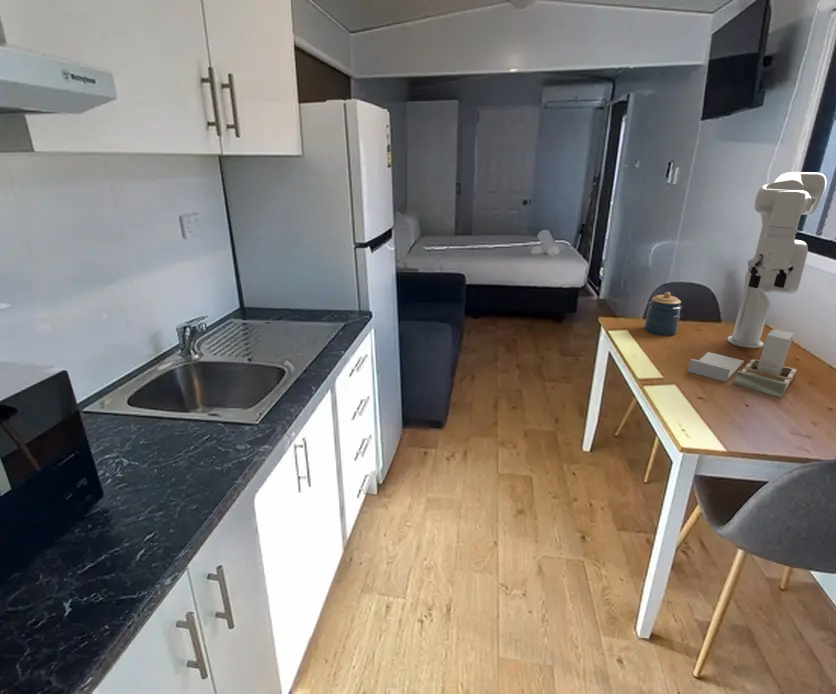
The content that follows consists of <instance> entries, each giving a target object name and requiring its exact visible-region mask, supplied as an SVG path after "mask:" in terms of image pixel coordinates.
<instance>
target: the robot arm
mask: <svg viewBox="0 0 836 694" xmlns="http://www.w3.org/2000/svg"><path fill="white" fill-rule="evenodd" d="M826 188H827V178H826V176H825V175H824V174H823V173H821V172H808V171H807V172H803V171H802V172H801V171H795V172H794V171H792V172H790V171H789V172H785V173H782V174H780V176H778V177H777V178H776V179H775V181H774V182H770V183H766V184H764V185H762V186H761V187H760V189H759V190H758V191H757V194H756V196H755V197H756V198H755V200H754V209H755V211H756V213H758V214H760V218H761V225H762V226H761V231H760V234H759V237H758V243H757V247H756V251H755V254H754V257H753V258H751V259H749V260H748V261H747V266H748V269H747V271H746V273H745V276H744V283H743V284H744V287H743V293H742V297H741V302H740V306H739V310H738V314H737V318H736V321H735V324H734V325H735V326H734V327H733V328H734V330H733V332H732V335H729V336H727V338H726V341H727V342H728V343H730V344H732V345H734V346H736V347H742V348H748V349H760V348H764V345H765V342H763V341H762V340H761V337H762V334H763V331H764V327H765V324H766V320H767V316H768V313H769V309H770V306H771V301H770V299H769V298H768V296H767V294H766V293H773V294H780V295H793V294H795V293H797V291H798V289H799V287H800V283H801V279H802V276H803V272H804V268H805V264H806V262H807V261H806V260H807V257H808V244H807V243H806V242H805V241H804V240H799V239H796V234H797V233H798V227H799V223H800V220H801V218H802V217H801V216H802V215H803V216H804V215H806V216H807V215H811V214H813V213H814V212H816V210H817V209H818V207H819V204H820V202H821V200H822V198H823V195H824V194H825V191H826Z"/></svg>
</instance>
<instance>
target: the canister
mask: <svg viewBox="0 0 836 694" xmlns="http://www.w3.org/2000/svg"><path fill="white" fill-rule="evenodd" d="M671 294H672V293H671V292H669V291H666V292H664V293H663V294H658V295H655V296H653V297H651V301H649V302H648V306H649V307H648V309H647V311H646V312H647V314H646V319H645V322H644V330H645V331H646V332H647V333H649V334H653V335H655V336H656V335H657V336H665V337H670V336H675V335H676V334H677V332H678V328H679V327H678V325H679V322H680V317H681V310H682V309H683V306H682V305H681V303H682V300H680V299H679V298H678V297H676V296H673V295H671Z"/></svg>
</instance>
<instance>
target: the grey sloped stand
mask: <svg viewBox="0 0 836 694" xmlns="http://www.w3.org/2000/svg"><path fill="white" fill-rule="evenodd" d="M744 362H745V360H742V359H740V358H739V359H738V358H734V357H729V356H726V355H722V354H718V353H713V352H709V351H708V352H706V353H705V354H704V355H703V356H701V358H699V359H696V358H695V359H694V358H691V359H690V361H689V365H688V368H687V372H688V373H691V374H696V375H699V376H703V377H706V378H711V379H713V380H718V381H722V382H725V383H726V382H727V381H728V380H729V379H730V378H731V377H732V376H733V374H735V372H737V371H738V370H739V368H741V366H742V365H743V364H744Z"/></svg>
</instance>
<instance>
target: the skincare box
mask: <svg viewBox="0 0 836 694" xmlns="http://www.w3.org/2000/svg"><path fill="white" fill-rule="evenodd" d="M794 336H795V333H794V332H790V331H789V332H788V331H783V330H780V329H779V330H778V329H775V328H773V329H771V331H769V333H768V334H767V335H766V339H765V342H764V345H763V347H762V352H761V354H760V358H759V360H760V361H759V364H758V367H756V370H758V371H762V372H766V373H770V374H774V375H778V376H781V374H782V373H781V371H782V368H783V366H785V362H786V359H787V355H788V353H789V350H790V347H791V343H792V341H793V337H794Z"/></svg>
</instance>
